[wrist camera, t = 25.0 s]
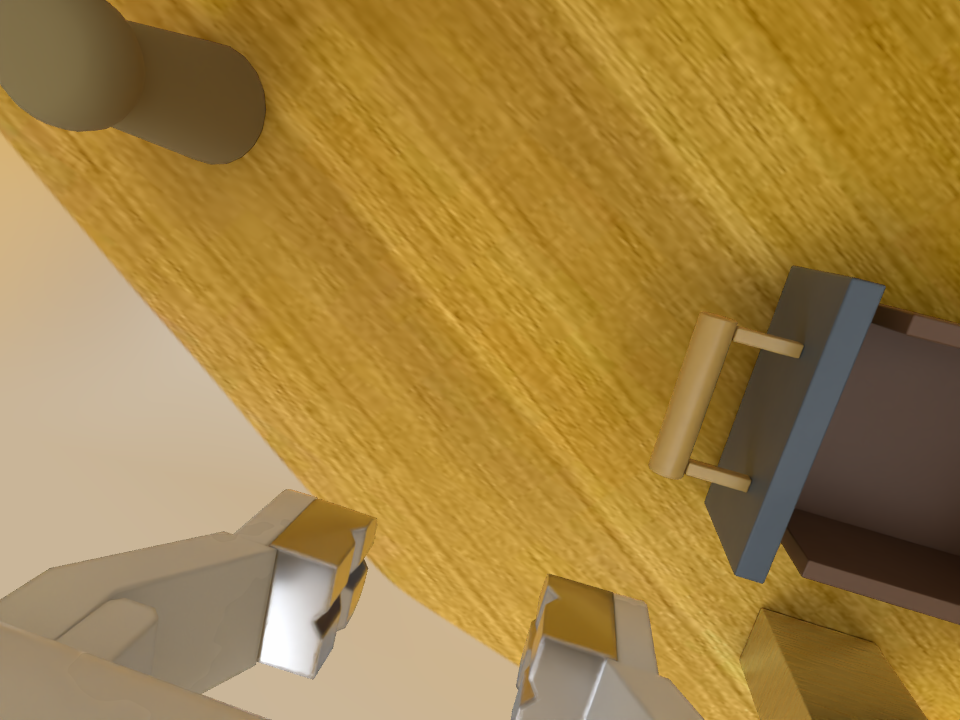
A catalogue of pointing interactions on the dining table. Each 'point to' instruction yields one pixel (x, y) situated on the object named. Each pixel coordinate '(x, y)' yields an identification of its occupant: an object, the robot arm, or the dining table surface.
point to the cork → (128, 78)
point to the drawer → (833, 443)
